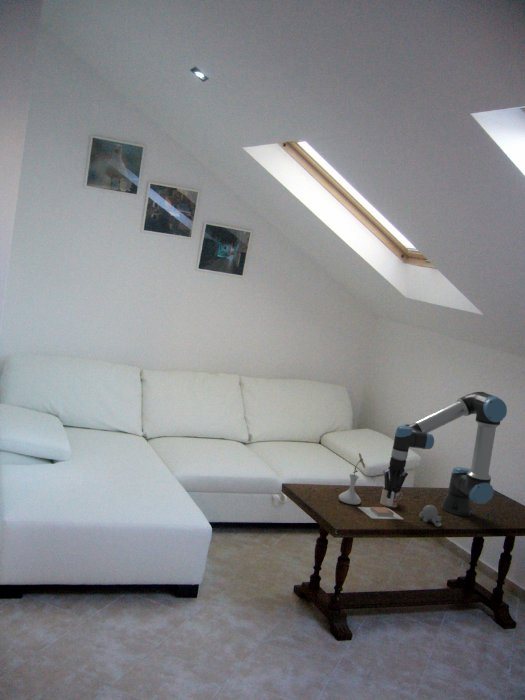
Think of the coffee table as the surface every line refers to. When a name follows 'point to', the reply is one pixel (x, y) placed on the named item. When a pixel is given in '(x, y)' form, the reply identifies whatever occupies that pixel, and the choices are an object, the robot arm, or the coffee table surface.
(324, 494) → the coffee table surface
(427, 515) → the chubby cartoon animal
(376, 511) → the tile
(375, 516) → the mat
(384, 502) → the teacup with lid
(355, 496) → the flower in vase
